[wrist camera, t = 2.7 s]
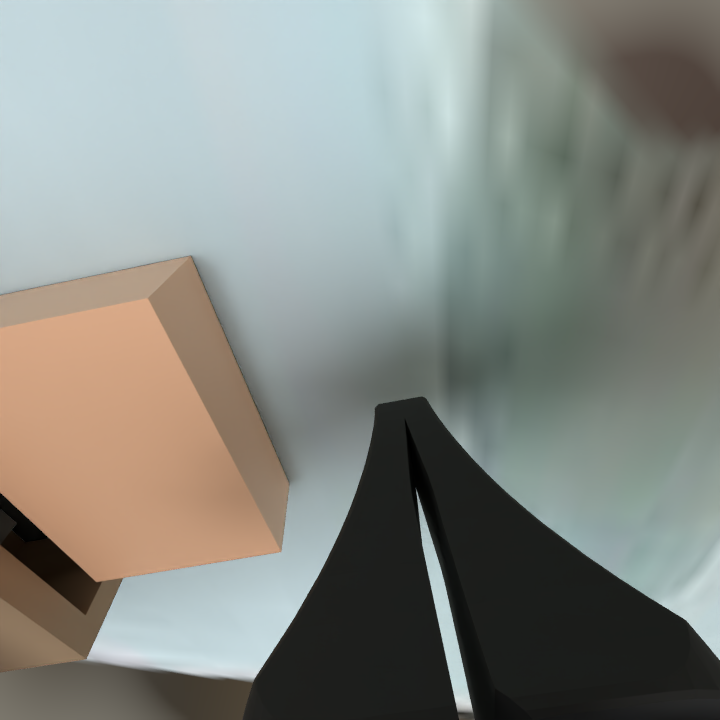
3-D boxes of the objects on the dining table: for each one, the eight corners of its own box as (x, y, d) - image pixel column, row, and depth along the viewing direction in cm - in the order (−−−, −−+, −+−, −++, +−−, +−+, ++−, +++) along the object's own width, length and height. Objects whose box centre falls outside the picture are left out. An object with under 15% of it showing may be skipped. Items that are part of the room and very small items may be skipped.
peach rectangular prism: (190, 255, 11) (147, 298, 8) (289, 484, 16) (281, 551, 14) (-38, 303, 11) (-146, 357, 9) (132, 511, 17) (96, 582, 14)
